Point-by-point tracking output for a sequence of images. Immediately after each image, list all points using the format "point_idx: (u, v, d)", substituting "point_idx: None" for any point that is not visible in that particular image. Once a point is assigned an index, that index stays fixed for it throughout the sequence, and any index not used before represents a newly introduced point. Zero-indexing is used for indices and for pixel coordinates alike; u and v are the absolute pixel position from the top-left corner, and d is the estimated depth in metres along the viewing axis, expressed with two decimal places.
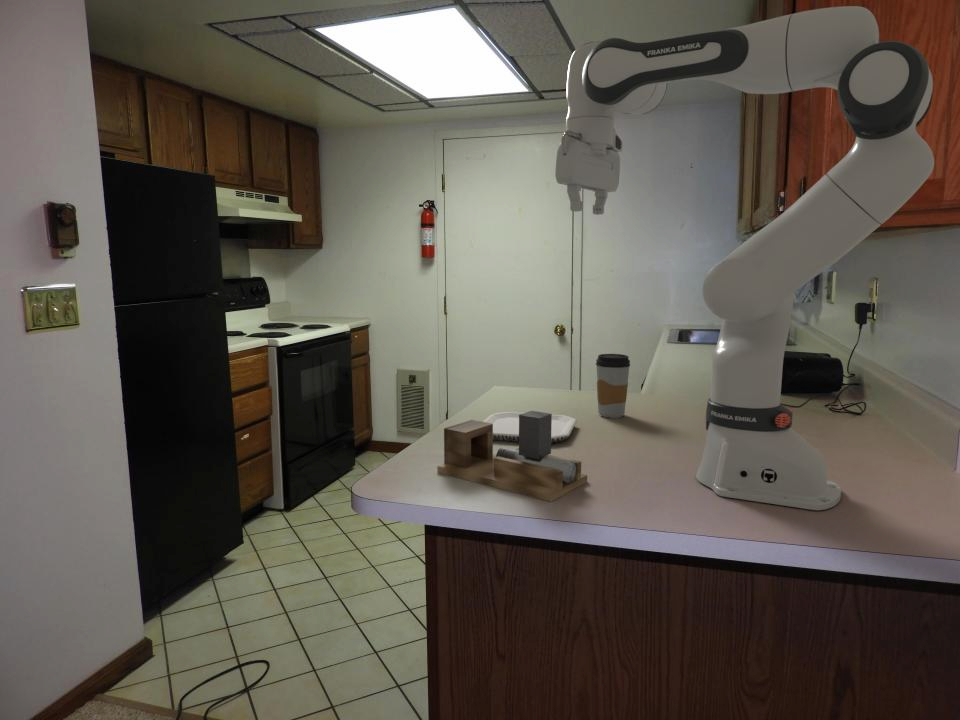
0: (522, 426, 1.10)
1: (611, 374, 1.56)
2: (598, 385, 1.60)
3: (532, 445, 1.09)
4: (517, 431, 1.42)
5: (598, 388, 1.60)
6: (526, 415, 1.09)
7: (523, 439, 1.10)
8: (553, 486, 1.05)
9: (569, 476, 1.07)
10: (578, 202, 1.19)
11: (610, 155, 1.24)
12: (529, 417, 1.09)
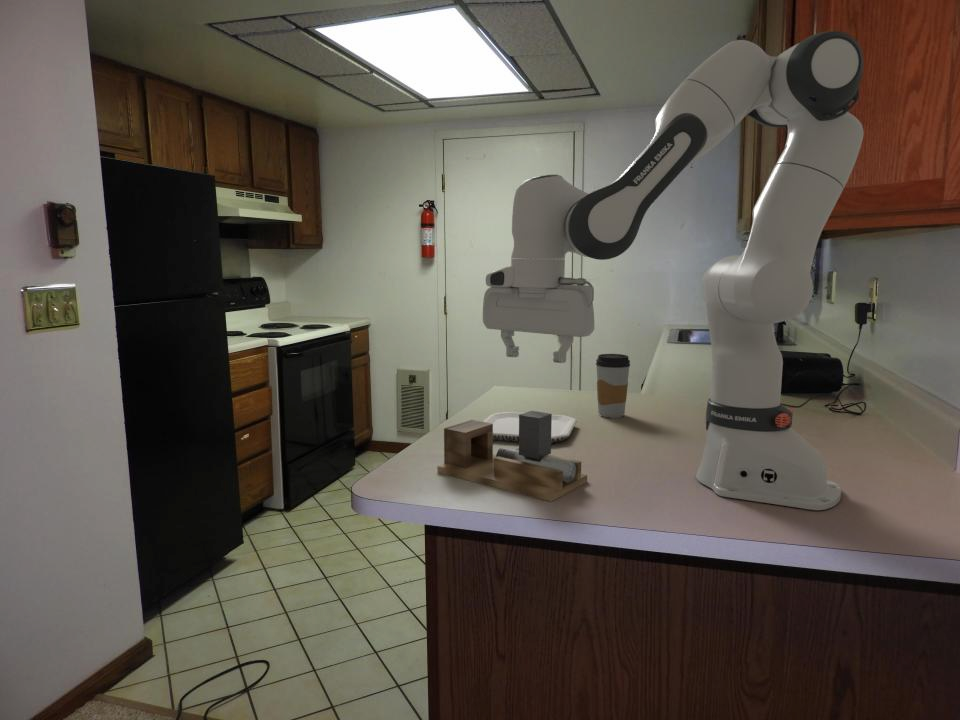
0: (522, 426, 1.10)
1: (611, 374, 1.56)
2: (598, 385, 1.60)
3: (532, 445, 1.09)
4: (517, 431, 1.42)
5: (598, 388, 1.60)
6: (526, 415, 1.09)
7: (523, 439, 1.10)
8: (553, 486, 1.05)
9: (569, 476, 1.07)
10: (565, 353, 1.06)
11: None
12: (529, 417, 1.09)
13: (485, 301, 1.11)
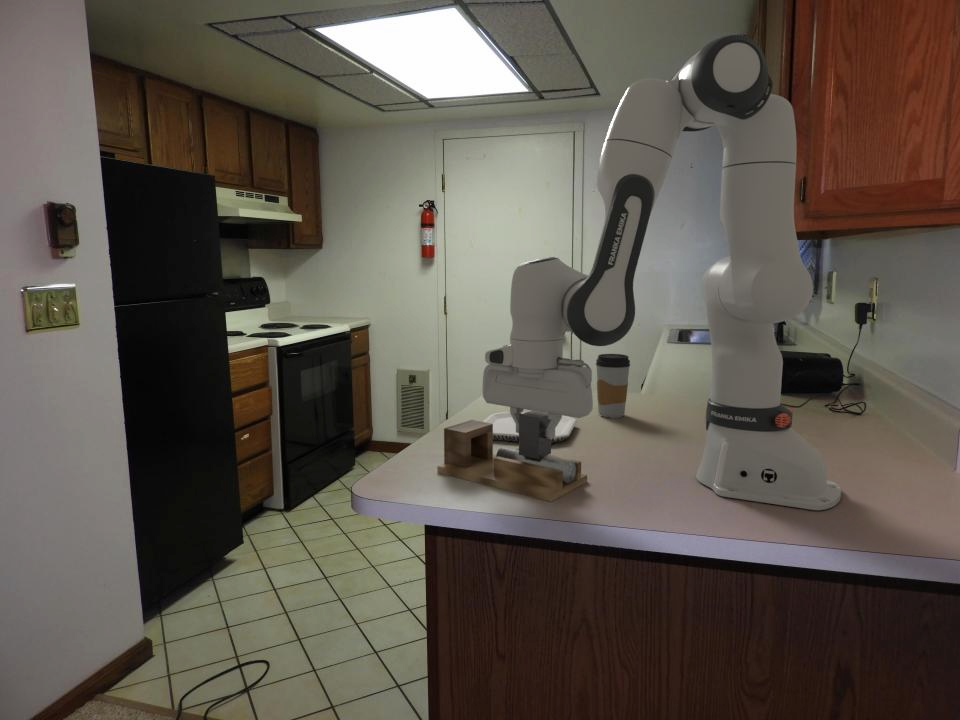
0: (522, 426, 1.10)
1: (611, 374, 1.56)
2: (598, 385, 1.60)
3: (532, 445, 1.09)
4: None
5: (598, 388, 1.60)
6: (526, 415, 1.09)
7: (523, 439, 1.10)
8: (553, 486, 1.05)
9: (569, 476, 1.07)
10: (554, 429, 1.09)
11: None
12: (529, 417, 1.09)
13: (484, 377, 1.13)
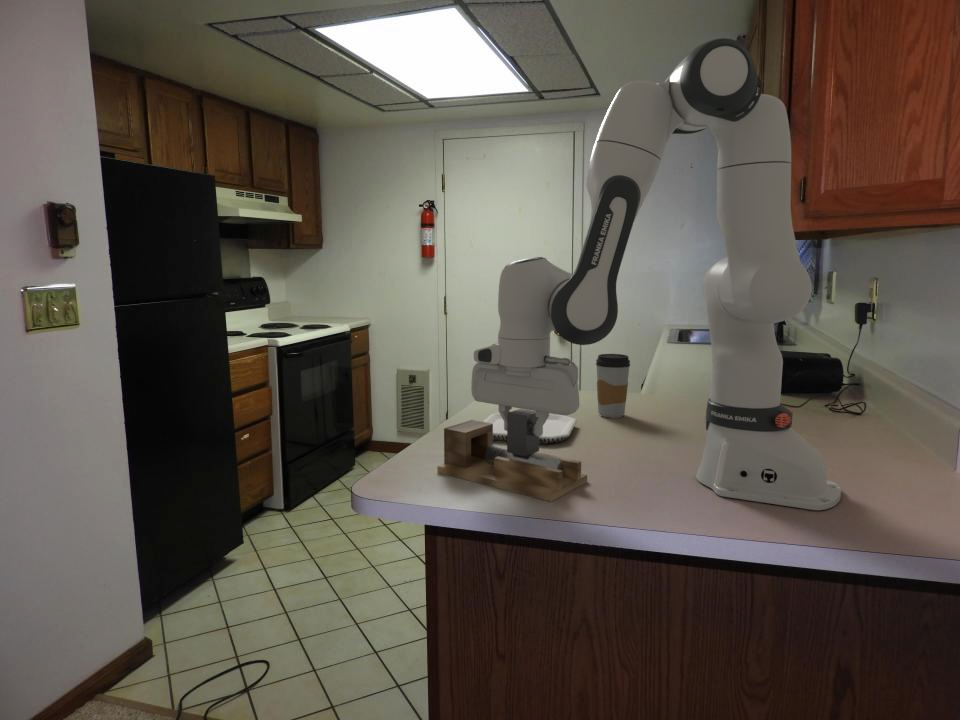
0: (510, 424, 1.11)
1: (611, 374, 1.56)
2: (598, 385, 1.60)
3: (520, 443, 1.10)
4: None
5: (598, 388, 1.60)
6: (514, 413, 1.11)
7: (511, 437, 1.11)
8: (553, 486, 1.05)
9: None
10: (542, 426, 1.10)
11: None
12: (517, 415, 1.10)
13: (473, 375, 1.14)
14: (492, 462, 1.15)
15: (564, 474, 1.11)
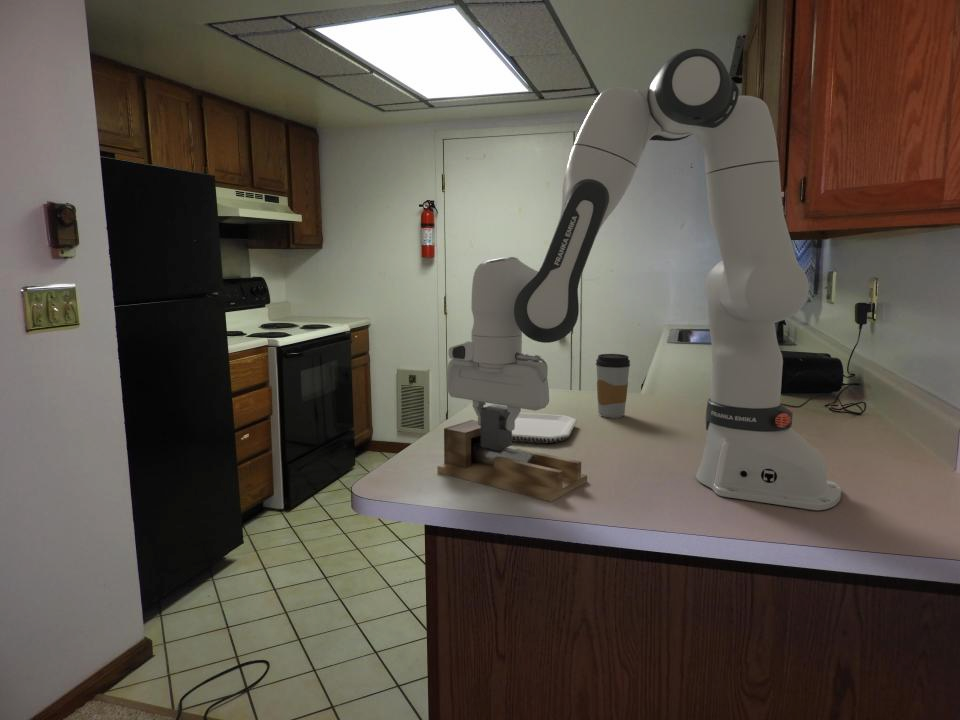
0: (483, 419, 1.15)
1: (611, 374, 1.56)
2: (598, 385, 1.60)
3: (493, 437, 1.14)
4: (517, 431, 1.42)
5: (598, 388, 1.60)
6: (487, 408, 1.14)
7: (484, 431, 1.15)
8: (553, 486, 1.05)
9: None
10: (514, 421, 1.14)
11: None
12: (490, 410, 1.14)
13: (448, 372, 1.18)
14: None
15: (564, 474, 1.11)
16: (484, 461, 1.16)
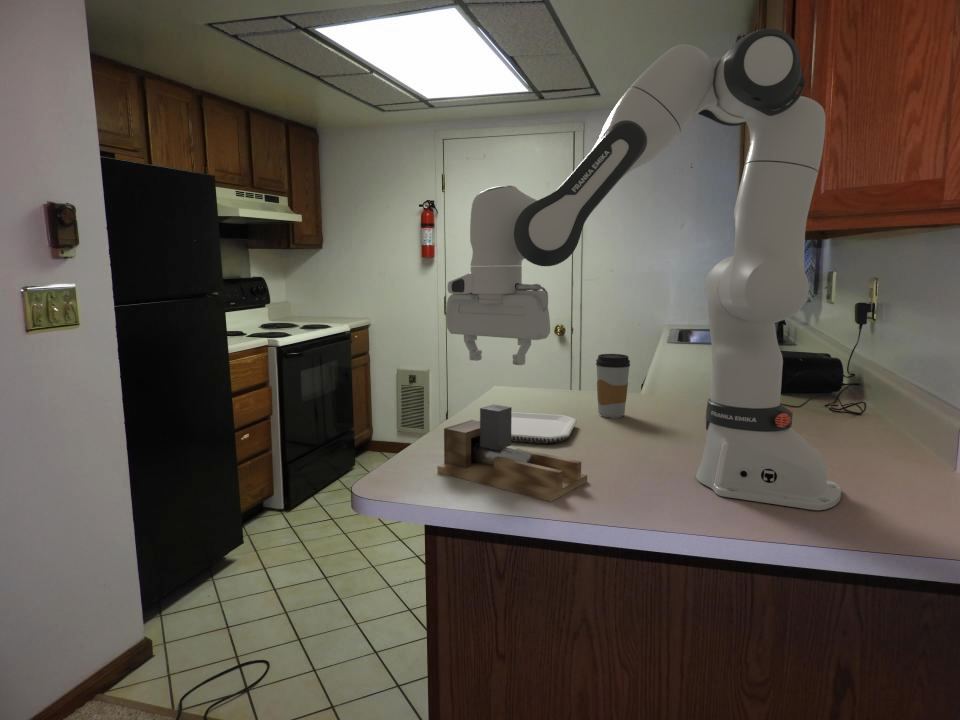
0: (483, 419, 1.15)
1: (611, 374, 1.56)
2: (598, 385, 1.60)
3: (492, 437, 1.14)
4: (517, 431, 1.42)
5: (598, 388, 1.60)
6: (487, 408, 1.14)
7: (484, 431, 1.15)
8: (553, 486, 1.05)
9: None
10: (524, 355, 1.11)
11: None
12: (489, 410, 1.14)
13: (447, 308, 1.16)
14: None
15: (564, 474, 1.11)
16: (483, 461, 1.16)
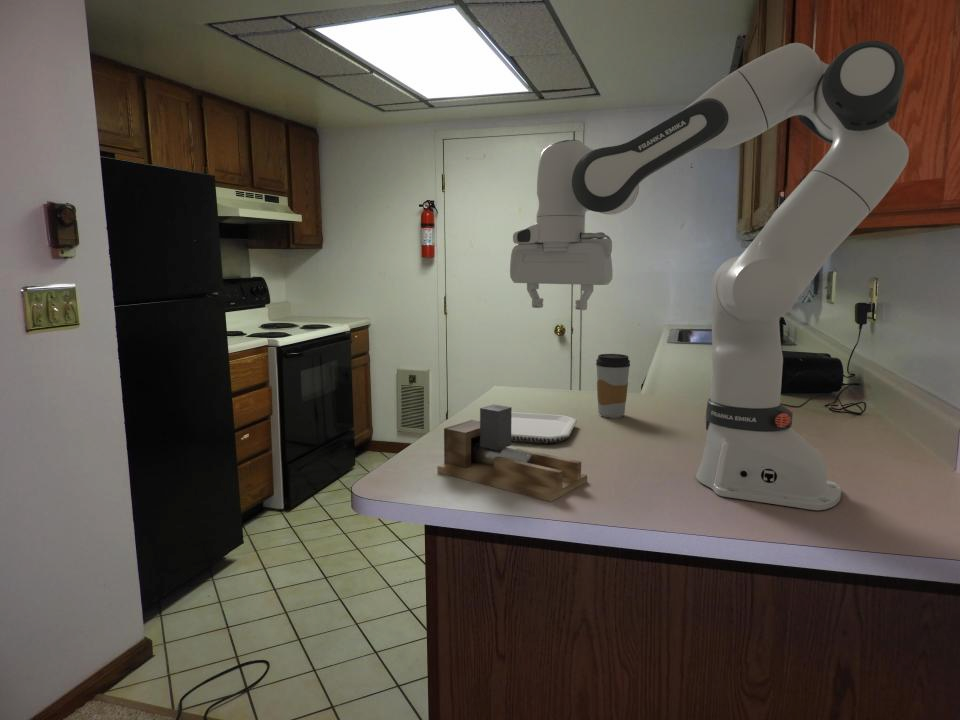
0: (483, 419, 1.15)
1: (611, 374, 1.56)
2: (598, 385, 1.60)
3: (492, 437, 1.14)
4: (517, 431, 1.42)
5: (598, 388, 1.60)
6: (487, 408, 1.14)
7: (484, 431, 1.15)
8: (553, 486, 1.05)
9: None
10: (586, 301, 1.18)
11: None
12: (489, 410, 1.14)
13: (512, 258, 1.23)
14: None
15: (564, 474, 1.11)
16: (483, 461, 1.16)
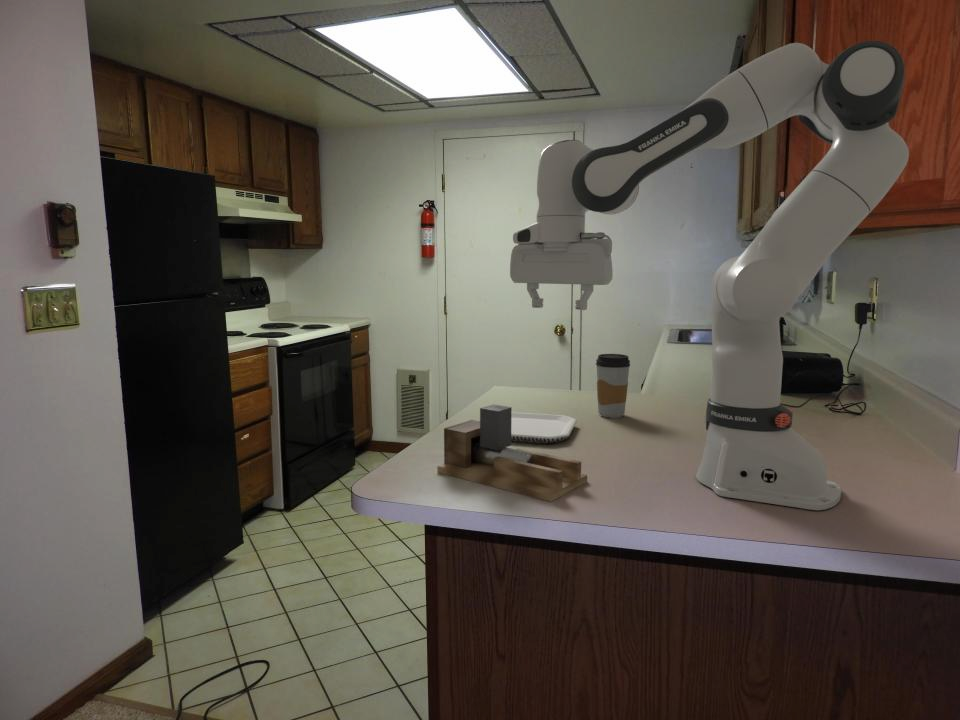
0: (483, 419, 1.15)
1: (611, 374, 1.56)
2: (598, 385, 1.60)
3: (492, 437, 1.14)
4: (517, 431, 1.42)
5: (598, 388, 1.60)
6: (487, 408, 1.14)
7: (484, 431, 1.15)
8: (553, 486, 1.05)
9: None
10: (586, 301, 1.18)
11: None
12: (489, 410, 1.14)
13: (512, 257, 1.23)
14: None
15: (564, 474, 1.11)
16: (483, 461, 1.16)
